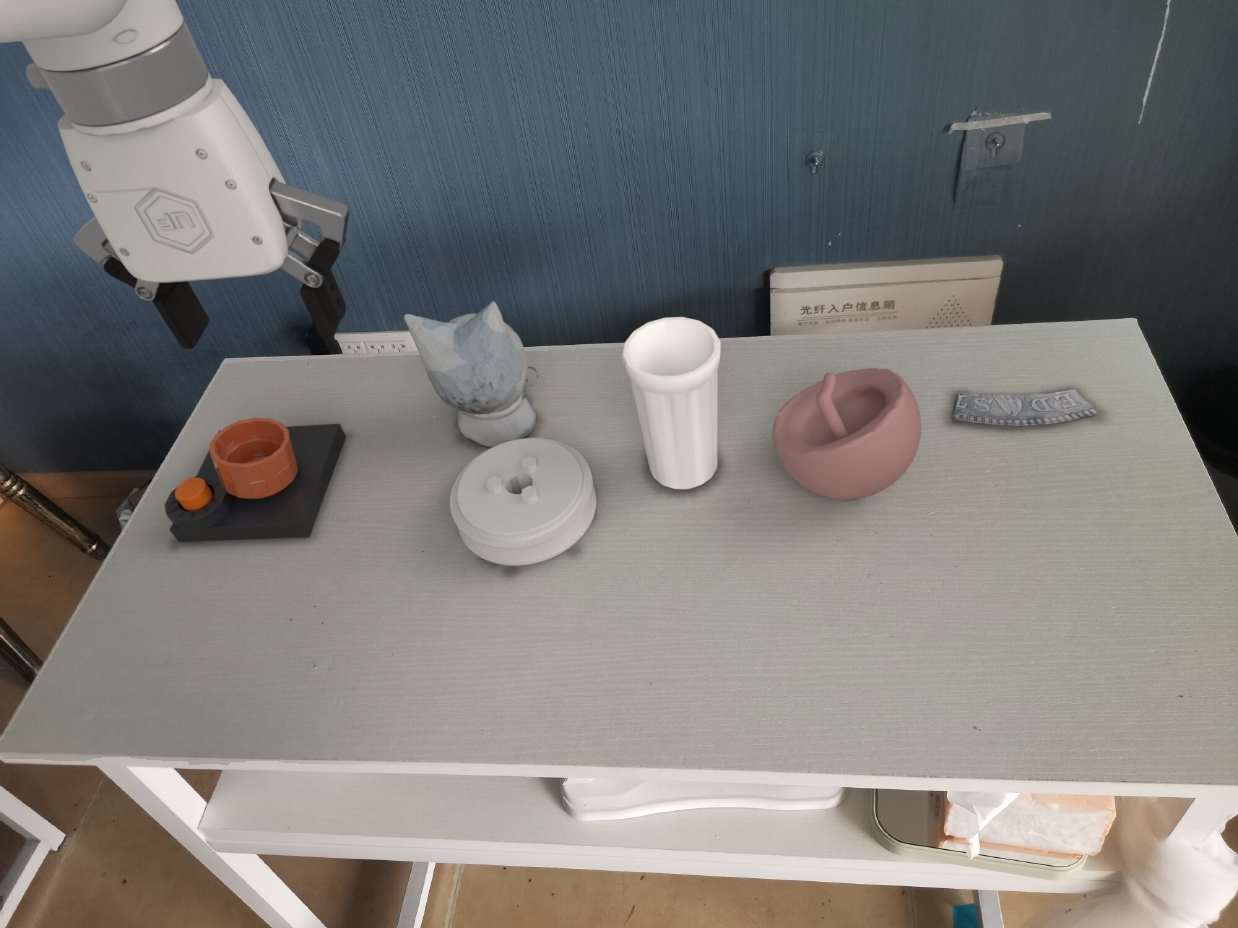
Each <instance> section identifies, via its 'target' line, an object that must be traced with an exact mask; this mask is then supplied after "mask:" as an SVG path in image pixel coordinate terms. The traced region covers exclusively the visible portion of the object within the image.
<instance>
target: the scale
mask: <svg viewBox="0 0 1238 928" xmlns="http://www.w3.org/2000/svg"><path fill="white" fill-rule="evenodd" d="M285 427H286V428H287V429H288V431H289V434H290V438H291V441H292V445H293V449H294V452H295V456H296V459H297V464H298V472H297V474H296V476H295V478H294V480H293V481H292V482H291V483H290V484H289V485H288V486H287V487H285V488H284V489H283V490H281V491H280V492H278V493H276V494H274V495H271V496H268V497H265V498H259V499H246V498H240V497H236V496H234V495H232V494H229V493H227V491H226V490H225V489H224V488H223V486H222V485H221V482H220V480H219V477H218V474H217V471H216V469H215V466H214V463H213V461H212V458H211V455H210V449H208V452H207V454H206V456H205V458H204V460H203V462H202V464H201V466H200V468H199V470H198V472H197V474H196V475H195V476H193V477H192V478H201V479H203V480H204V481H205V482H206V484H207V485H208V487H209V488H210V489H211V491H212V499H211V500H210V501H209V502H208V503H207V504H206V505H205V506H204V507H202V508H199V509H197V510H194V511H189V510H186V509H184V508H183V506H182V505H181V504H180V502H179V501H178V500H177V498H176V497H175V491H176V489H177V487H175V488H174V489H173V490H171V491H170V493H169V495H168V497H167V499H166V501H165V503H164V510H165V515H166V517H167V518H168V519H169V521H170V522H171V523H172V524H171V526H170V528H169V531H170V533H171V534H172V535H173V536H174V538H175V539H176V540H177V542H178V543H194V542H197V543H198V542H217V541H218V542H219V541H221V542H222V541H242V540H243V541H244V540H266V539H269V540H270V539H291V538H294V539H295V538H310V536H311V533H312V532H313V528H314V526H315V523H316V520H317V518H318V515H319V513H320V510H321V506H322V503H323V501H324V498H325V495H326V494H327V493H326V492H327V490H328V487H329V484H330V481H331V479H332V476H333V473H334V471H335V467H336V465H337V462H338V459H339V457H340V454H341V451H342V448H343V446H344V443H345V440H346V437H347V436H346V434H345V432H344V430H343V428H342V426H341V424H340V423H326V424H308V425H291V426H285ZM221 430H222V429H221ZM221 430H220V429H219V430H218V432H220V431H221Z"/></svg>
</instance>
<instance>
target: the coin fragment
mask: <svg viewBox="0 0 1238 928" xmlns="http://www.w3.org/2000/svg"><path fill="white" fill-rule="evenodd" d="M1100 413H1101V411H1099V410H1097V409H1096V408H1095V407H1094V406H1093V405H1092V404H1090V403H1089V402H1088V401H1087V400H1085V399H1084V398H1083V397H1082V396H1081V394H1080V393H1078V391H1077V390H1076V389H1075V388H1073V389H1068V390H1067V389H1066V390H1061V391H1056V392H1049V393H1048V392H1047V393H1036V394H1028V395H1018V394H1015V395H1011V394H988V393H987V394H986V393H985V394H977V393H966V392H961V391H959V392H958V397H957V402H956V406H955V409H954V410H953V414H952V420H958V421H966V422H971V423H978V424H980V423H982V424H986V425H987V424H988V425H996V426H1016V427H1017V426H1031V425H1032V426H1037V425H1050V424H1059V423H1063V422H1070V421H1074V420H1077V419H1081V418H1084V417H1089V416H1093V415H1096V414H1100Z"/></svg>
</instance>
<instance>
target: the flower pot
mask: <svg viewBox="0 0 1238 928" xmlns="http://www.w3.org/2000/svg"><path fill="white" fill-rule="evenodd" d="M286 427H287V426H285V424H283V423H282V422H281V421H278V420H275V419H273V418H270V417H268V418H267V417H252V418H247V419H246V418H245V419H241V420H238V421H236V422H233V423H231V424H228V425H227V426H225V427H224V428H222V429H221V431H220V430H219V431H220V432H219V431H218V432H217V433H215V434H214V437H213V438H212V440H211V441H210V443H209V450H210V455H211V458H212V461H213V463H214V466H215V469H216V471H217V474H218V477H219V480H220V482H221V485H222V486H223V488H224V489H225V490H226V491H227V493H229V494H232V495H234V496H236V497H240V498H246V499H259V498H265V497H268V496H271V495H274V494H276V493H278V492H280V491H281V490H283V489H284V488H285V487H287V486H288V485H289V484H290V483H291V482H292V481H293V480H294V478H295V476H296V474H297V472H298V464H297V459H296V456H295V452H294V449H293V445H292V441H291V438H290V434H289V431H288V429H287V428H286Z"/></svg>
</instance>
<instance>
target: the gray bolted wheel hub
mask: <svg viewBox="0 0 1238 928" xmlns="http://www.w3.org/2000/svg"><path fill="white" fill-rule="evenodd" d="M592 475H593V474H592V471H591V468H590V465H589V463H588V461H587V460H586V459H585V458H584V457H583V455H582V454H581V453H580V452H578V450H576V449H575V448H573V447H571V446H570V445H568V444H567V443H564V442H561V441H558V440H556V439H550V438H545V437H525V438H523V439H516V440H512V441H508V442H505V443H502V444H499V445H497V446H494V447H489V448H488V449H486V450H484V451H483V452H481V453H480V454H479V455H477V456H476V457H473V459H472V460H471V461H470V462H468V463H467V465H466V466H464V467H463V469H462V470H461V471H460V473H459V474H458V476H457V477H456V479H455V481H454V484H453V485H452V489H451V492H450V496H449V510H450V513H451V516H452V518H453V521H454V523H455V525H456V527H457V530H458V533H459V536H460V538H461V540H462V542H463V544H464V545H465V546H466V547H467V548H468V550H470V551H471V552H472V553H473V554H474V555H476V556H477V557H478V558H481V559H483V560H485V561H486V562H490V563H493V564H496V565H502V566H515V567H517V566H527V565H533V564H537V563H541V562H545V561H547V560H550V559H552V558H554V557H557V556H558V555H561V554H562V553H564V552H565V551H567V550H569V549H570V548H572V547H573V546H574V545H575V544H576V543H577V542H578V541H579V540H580V539H581V538H582V537H583V536H584V534H586V532H587V531H588V529H589V528H590V527H591V524H592V523H593V521H594V517H595V515H596V510H597V493H596V489H595V486H594V484H593V482H594V481H593V480H594V479H593V476H592Z"/></svg>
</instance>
